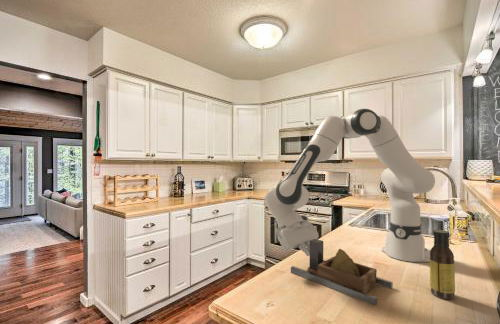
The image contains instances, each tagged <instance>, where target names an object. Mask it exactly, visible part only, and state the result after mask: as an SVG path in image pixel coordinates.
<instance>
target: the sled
mask: <svg viewBox="0 0 500 324" xmlns="http://www.w3.org/2000/svg"><path fill="white" fill-rule="evenodd" d="M334 257H335V256H332V257H330V258H328V259H326V260H325V261H324V262H323V260H324V240H321V239H319V238H317V239H313V240H311V241H310V255H309V265H308V266H309V267H308V268H307V271H308V272H310V273H313V274H316V275H318V276H321V277H324V278H326V279H329V280H332V281H334V282H337V283H340V284H343V285H345V286H348V287H351V288H353V289H356V290H359V291H361V292H364V293H367V294H368V292H369V291H370V290H372V289H373V288H374V287H375V286H376V285H377V284H376V277H377V268H374V267H370V266H367V265H363V264H361V263H357V262H354V263H355V265H356V266H357V267H358V269H359V272H360V274H361V277H357V276H354V275H351V274H348V273H345V272H342V271H339V270H336V269H333V268H330V266H331V264H332V262H333V260H334Z"/></svg>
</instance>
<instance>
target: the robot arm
mask: <svg viewBox="0 0 500 324" xmlns="http://www.w3.org/2000/svg"><path fill="white" fill-rule="evenodd" d="M363 136H365V137H366V138H367V140H368V141H369V143H370V145H371V146H372V149H373V150H374V152H375V154H376V157H377V158H378V160H379V161H380V163H381V164H383V165H384V166H386V168H385V169H384V170H383V171H382V172H381V175H380V181H381V183H382V184H383V186H384V188H385V189H386V192H387V196H388V200H389V203H390V204H389V205H390V206H389V207H390V221H389V222H388V223H389V225H388V227H389V228H388V230H389V231H388V232H386V233H385V240H384V247H381V250H380V251H382V252H384V253H385V254H386V255H387V256H389V257H391V258H394V259H396V260H398V261H400V260H401V261H405V262H411V263H420V262H422V263H423V262H424V263H425V262H426V263H430V250H431V249H429V248H427V247H426V244H425V243H426V241H425V237H424V236H423V234H422V230H423V228H422V223H421V207H420V205H419V203H418V202H417V200H416V199H415V196H414V194H415V195H417V194H426V193H428V192H431V191H432V190H433V189H434V187H435V185H436V178H435V175H434V174H433V172H432V171H430V170H428V169H427V168H426V167H424V166H422V165H421V164H420V162H418V161H417V160H416V159H415V158H414V157H413V156H412V154H411V153H410V152H409V151H408V150H407V149H408V148H406V146H405V144H404V142H403V141H402V139H401V136H400V135H399V134H398V132H397V130H396V128H395V127H394V126H393V124H392V123H391V121H390V120H389V119H388V118H387V117H386V116H384V115H378V114H377V113H376V112H374V110H371V109H369V108H360V109H357V110H353V111H350V112H348V113H347V114H345V115H343V116H340V117H339V116H336V115H328V116H326V117H325V118H323V120H322V121H321V122H320V124H319V126H318V127H317V128H316V130H315V132H314V133H313V135H312V137H311V139H310V141H309V142H308V144H307V146H306V147H305V148H304V150H303V151H302V152H301V153H300V155H299V157H298V159H297V160H296V162H295V163H294V164H293V166H292V168H291V169H290V171H288V174H287V175H285V177H283V178H282V179H281V180H280V181H279V182H278V183H277V185H276V187H275V188H272V189H270V190H269V191H268V192H267V193H266V195H265V196H264V202H265V205H266V207H267V209H268V211H269V213H270V214H271V215H272V217H274V219H275V220H276V223H277V225H278V227H276V229H275V234H276V236H277V240H278V241H279V243H280V246H281V247H282V249H283V250H284V251H285V252H289V251H292V250H294V249H297V248H298V249H299V250H300V251H302V252H303V253H305V255H306V256H307V257H310V241H311V240H313V239H319V236H320V235H319V232H318V230H317V229H316V227H315V226H314V225H313V224H312V222H310V219H309V217H308V216H307V215H301V214H298V213H297V212H296V210H298V209H300V208H302V207H304V206H306V205H307V204H308V202H309V200H310V192H309V190H308V188H307V187H306V186H304V185H303V183H304V181H305V180H306V179H307V176H308V175H309V173H310V171H311V170H312V168H313V167H314V166H315V165H316V164H317V163H321V162H326V161H329V160H330V158H332V157H333V155H334V154H335V152H336V150H337V148H338V147H339V145H340V143H341V141H342V140H343V139H349V140H350V139H356V138H360V137H363Z"/></svg>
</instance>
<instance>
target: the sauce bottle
mask: <svg viewBox="0 0 500 324" xmlns="http://www.w3.org/2000/svg"><path fill="white" fill-rule="evenodd" d="M432 233H433V245H432V247H431V248H430V249H429V250H430V262H429V286H430V292H431V294H432V295H433V296H435V297H437V298H439V299H442V300H443V299H444V300H452V299H454V298H455V292H456V286H455V285H456V282H455V281H456V280H455V279H456V276H455V273H456V272H455V271H456V270H455V256H454V252H453V251H452V249H451V248H450V242H449V239H450V232H449V231H447V230H445V229H444V230H443V229H434V230H433V232H432Z"/></svg>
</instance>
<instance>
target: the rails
mask: <svg viewBox="0 0 500 324" xmlns="http://www.w3.org/2000/svg"><path fill="white" fill-rule="evenodd" d="M324 261H326V260H325V259H323V262H324ZM290 273H292V274H294V275H297V276H299V277H302V278H304V279H307V280H309V281H312V282H314V283H316V284H320V285H322V286H325V287H326V288H329V289H332V290H335V291H337V292H340V293H342V294H344V295H347V296H350V297H352V298H355V299H357V300H360V301H362V302H365V303H367V304H370V305H372V306H377V304H378V297H377V296H374V295H372V294H369V293H368V292H367V293H364V292H361V291H359V290H356V289H353V288H351V287H348V286H345V285H343V284H340V283H337V282H334V281H332V280H329V279H326V278H324V277H321V276H318V275H317V274H314V273H312V272H309V271H308V270H305V269H302V268H300V267H297V266H294V265H292V266H291V267H290ZM393 284H394V282H393V281H391V280H388V279H384V278H381V277H378V276H376V285H377V286H380V287H383V288H387V289H389V290H393V287H394V285H393Z"/></svg>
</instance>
